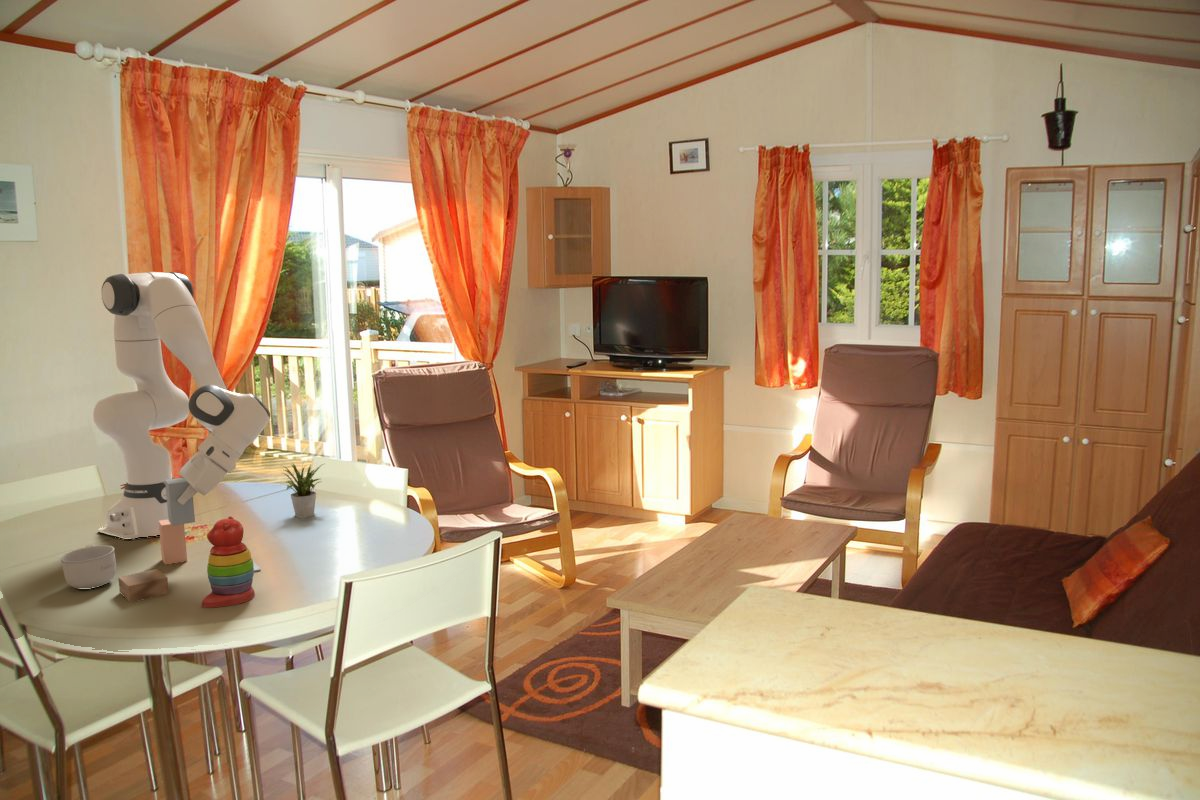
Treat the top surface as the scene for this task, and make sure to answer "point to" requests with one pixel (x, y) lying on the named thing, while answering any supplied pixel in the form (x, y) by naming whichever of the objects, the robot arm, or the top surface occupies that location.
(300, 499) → the house plant
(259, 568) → the slate swatch
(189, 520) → the slate pillar
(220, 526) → the stacking bear
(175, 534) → the terracotta pillar
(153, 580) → the walnut block
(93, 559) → the teacup
